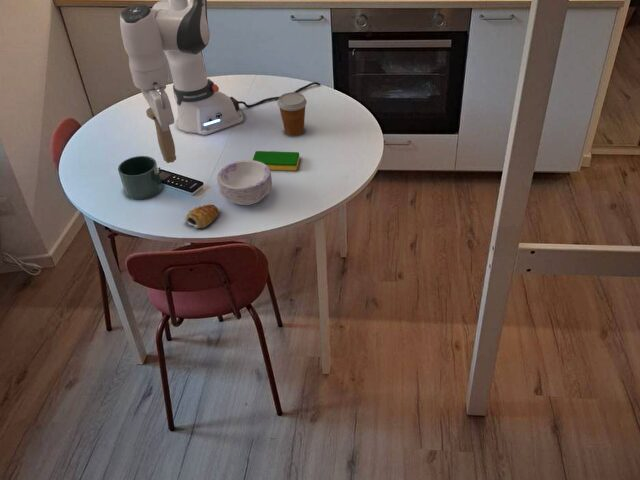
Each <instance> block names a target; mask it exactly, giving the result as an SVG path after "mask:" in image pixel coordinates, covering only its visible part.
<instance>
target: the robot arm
mask: <svg viewBox="0 0 640 480" xmlns="http://www.w3.org/2000/svg"><path fill="white" fill-rule="evenodd" d="M207 1H208V0H159V1H157V2H156V3H154V4H153V6H152V8H151V7H150V6H148V5H146V4H140V3H139V4H132V5H129V6H127V7H125V8H124V9H123V10H122V11H121V12H120V14H119V26H120V34H121V40H122V44H123V47H124V48H123V49H124V51H125V53H126V54H127V56H128V68H129V71H130V75H131V78H132V82H133V85H134V87H135V88H137V89H138V90H140V92H141V94H142V97H144V99H145V101H146V103H147V104H148V106H149V108H151V110H152V111H153V113H154V115H155V117H156V118H157V120H158V122H159V124H160V128H161V130H162V131H163V132H164V131H168V130H169V128H168V125H169V126H171V125H173V124H175V116H174V113H173V108H172V105H171V101H170V99H169V96H168V93H167V92H166V89H167V85H169V83H170V81H171V79H172V84H173V85H172V89H173V90H172V91H173V92H172V93H173V96H174V101H175V103H176V106H177V124H176V125H177V128H178V129H179V130H181V131H183V132H185V133H191V134H199V135H203V136H206V135H207V136H208V135H210V134H212V133H215V132H218V131H221V130H223V129H226V128H229V127H232V126H234V125H237V124H240V123H243V121H244V115H243V112H242V110H241V109H240V104H242V105H244V106H245V108H252V107H255V106H258V105H261V104H262V103H265V102H268V101H273V100H279V97H280V96H281V95H280V96H273V97H272V96H271V97H267V98H264V99H262V100H260V101H258V102H256V103H253V104H247V103H246V102H245V101H243V100H238V99H236V98H235V97H233V96H228V95H227V94H226V93H224V92H221V91H219V90H220V88H219V86H218V85H217V84H215V82H214V81H212V80H211V79H210V78H208V74H207V69H206V64H205V63H206V62H205V59H204V56H203V54H202V53H201V52H203V50H205V49H206V47H207V46H208V45H209V41H210V37H211V31H210V28H209V20H208V2H207ZM163 52H164V53H163ZM164 54H165V56H164ZM165 57H166V58H165ZM167 62H168V64H167ZM168 65H169V66H168ZM168 67H169V68H168ZM169 70H170V72H169ZM170 75H171V78H170ZM314 85H317V86H321V83H319V82H317V81H313V82H310V83H308V84H306V85H303V86H302V87H300V88H297V89H296V90H295V91H293V92H294V93H300V91H302V90H305V89H307V88H308V87H311V86H314Z"/></svg>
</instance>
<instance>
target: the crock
mask: <svg viewBox="0 0 640 480" xmlns="http://www.w3.org/2000/svg"><path fill="white" fill-rule="evenodd" d="M117 171H118V174H119V178H120V180H121V184H122V187H123V188H122V189H123V190H124V193H125V195H126V196H127V197H128V198H130V199H133V200H145V199H150V198H153V197H154V196H156V195H158V194H159V193H160V192H161V191H162V189H163V183H162V179H161V175H160V170H159V168H158V163H157V161H156V159H155V158H153V157H151V156H147V155H138V156H137V155H136V156H133V157H128V158H127V159H125V160H123V161H122V162H120V164H119V165H118V168H117Z"/></svg>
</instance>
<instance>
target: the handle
mask: <svg viewBox="0 0 640 480" xmlns="http://www.w3.org/2000/svg"><path fill="white" fill-rule="evenodd" d="M145 114H146V116H147V118H149V119H151V120H153V121H154V126H155V130H156V137H157V143H158V147H159V151H160V154H161V156H162V159H163V161H164V162H165V163H166V164H169V163H175V161H176V160H177V155H176V145H175V141H174V138H173V135H172V131H171V127H170V125H168V128H169V130H168V131H164V132H163V131H162V130H161V128H160V124H159V122H158V120H157V118H156V117H155V115H154V113H153V111H152V110H151V108H150V107H149V108H147V109H146V113H145Z"/></svg>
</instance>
